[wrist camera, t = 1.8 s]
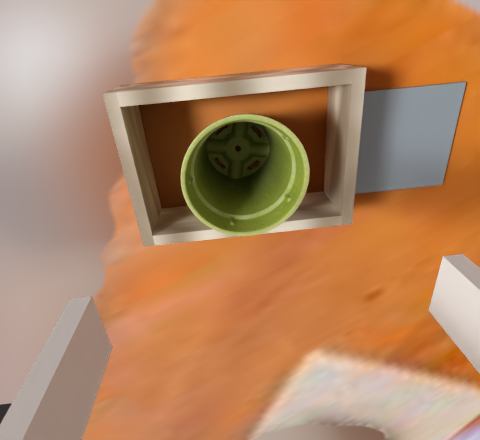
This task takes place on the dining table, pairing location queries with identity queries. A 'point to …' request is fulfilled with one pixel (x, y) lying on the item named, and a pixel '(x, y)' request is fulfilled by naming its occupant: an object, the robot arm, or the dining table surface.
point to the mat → (407, 136)
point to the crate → (334, 76)
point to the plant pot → (245, 175)
